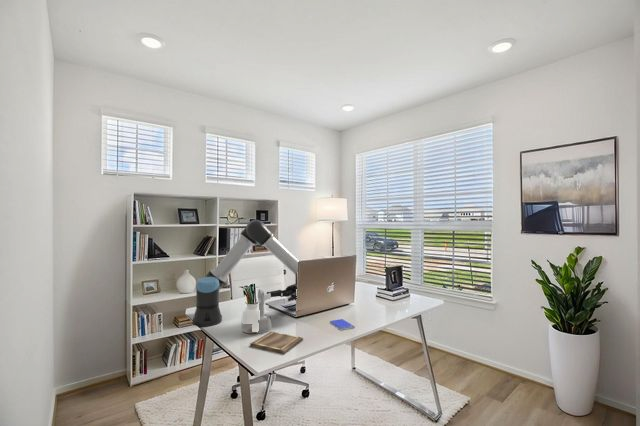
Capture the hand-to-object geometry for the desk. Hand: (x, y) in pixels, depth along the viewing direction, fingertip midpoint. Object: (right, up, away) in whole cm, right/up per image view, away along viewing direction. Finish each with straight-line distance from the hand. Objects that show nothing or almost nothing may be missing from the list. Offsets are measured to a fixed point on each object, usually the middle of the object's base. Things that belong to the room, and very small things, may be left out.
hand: (273, 299), depth 167 cm
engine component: (-5, -13, -10) cm, 17 cm away
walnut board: (+6, -12, -27) cm, 30 cm away
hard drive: (+37, -14, -3) cm, 40 cm away
